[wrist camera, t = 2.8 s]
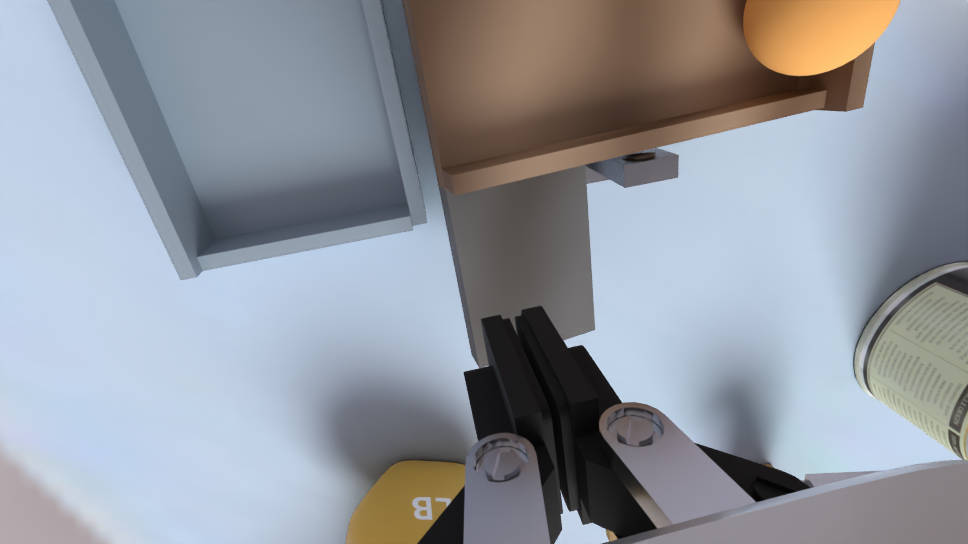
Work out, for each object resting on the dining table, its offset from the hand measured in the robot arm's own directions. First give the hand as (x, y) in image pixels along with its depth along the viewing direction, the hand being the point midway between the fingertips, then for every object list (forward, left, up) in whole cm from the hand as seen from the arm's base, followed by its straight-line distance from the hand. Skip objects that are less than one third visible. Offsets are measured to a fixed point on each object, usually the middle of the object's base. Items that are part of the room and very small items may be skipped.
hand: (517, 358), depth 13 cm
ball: (-7, +11, -5) cm, 14 cm away
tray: (-7, -7, -11) cm, 14 cm away
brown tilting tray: (-4, +6, -8) cm, 11 cm away
